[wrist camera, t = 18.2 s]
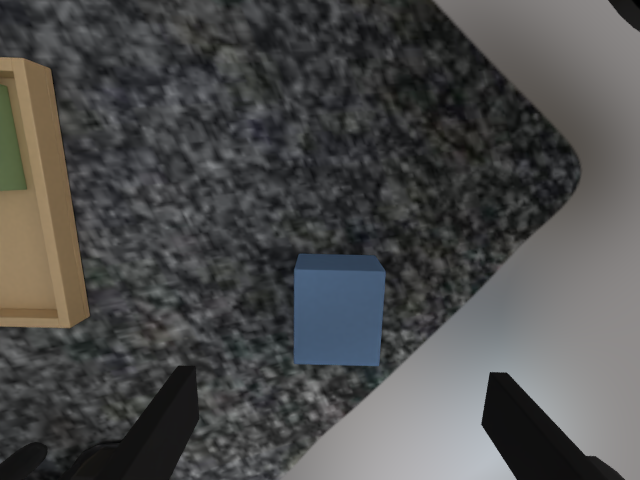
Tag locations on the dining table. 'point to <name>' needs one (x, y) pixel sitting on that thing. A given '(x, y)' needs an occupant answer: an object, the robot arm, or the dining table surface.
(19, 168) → the green block
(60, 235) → the light wooden tray
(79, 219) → the dining table surface
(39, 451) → the milk frother
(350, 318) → the blue block
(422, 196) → the dining table surface
